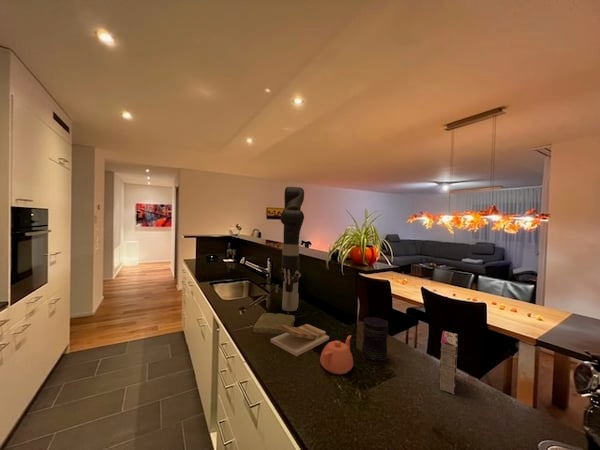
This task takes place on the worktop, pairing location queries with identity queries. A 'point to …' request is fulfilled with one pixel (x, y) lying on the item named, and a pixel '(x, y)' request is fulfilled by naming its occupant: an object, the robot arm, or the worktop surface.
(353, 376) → the worktop surface
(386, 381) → the worktop surface
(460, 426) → the worktop surface
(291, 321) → the decorative tile
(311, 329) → the light oak plank
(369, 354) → the storage jar
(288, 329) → the honey oak plank
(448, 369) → the candy bar box
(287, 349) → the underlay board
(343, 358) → the teapot
